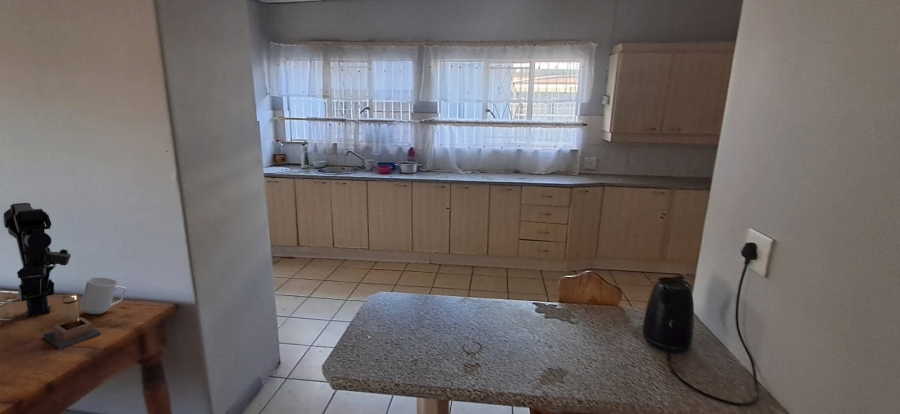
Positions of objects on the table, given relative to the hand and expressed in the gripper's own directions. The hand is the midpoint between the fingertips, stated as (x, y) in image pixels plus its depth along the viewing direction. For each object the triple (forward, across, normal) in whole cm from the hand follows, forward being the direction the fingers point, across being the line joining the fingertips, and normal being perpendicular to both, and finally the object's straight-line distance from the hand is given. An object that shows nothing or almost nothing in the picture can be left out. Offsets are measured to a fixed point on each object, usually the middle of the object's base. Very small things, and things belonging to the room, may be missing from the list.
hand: (41, 291), depth 147 cm
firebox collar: (+14, -11, -9) cm, 20 cm away
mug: (+12, +6, -14) cm, 19 cm away
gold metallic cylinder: (+13, -11, -9) cm, 19 cm away
